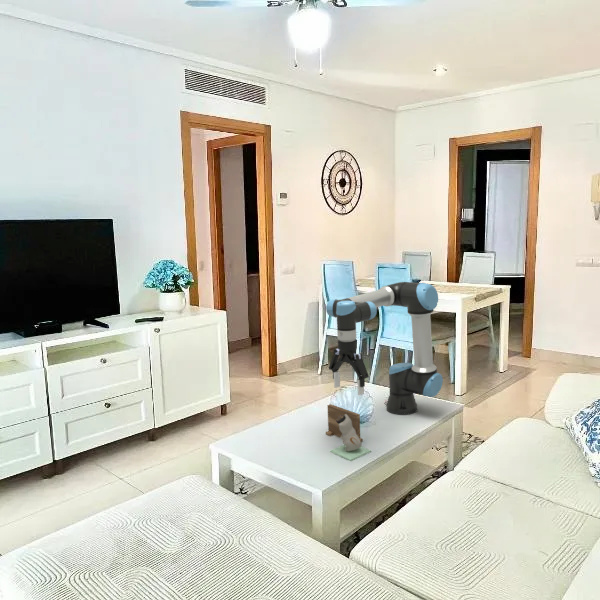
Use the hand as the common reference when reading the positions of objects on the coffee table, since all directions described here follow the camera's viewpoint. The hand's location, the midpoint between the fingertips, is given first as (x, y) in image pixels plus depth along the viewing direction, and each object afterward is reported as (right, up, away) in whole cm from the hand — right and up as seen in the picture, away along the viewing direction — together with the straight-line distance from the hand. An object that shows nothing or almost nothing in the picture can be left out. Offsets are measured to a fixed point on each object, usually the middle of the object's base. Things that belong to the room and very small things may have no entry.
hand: (348, 390), depth 219 cm
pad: (+1, -26, +4) cm, 26 cm away
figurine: (+1, -26, +4) cm, 26 cm away
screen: (0, -24, +18) cm, 30 cm away
